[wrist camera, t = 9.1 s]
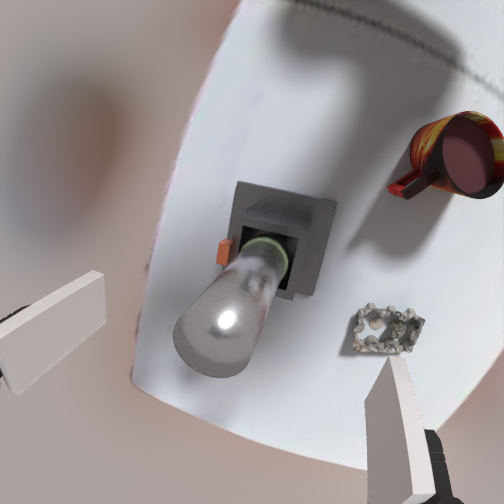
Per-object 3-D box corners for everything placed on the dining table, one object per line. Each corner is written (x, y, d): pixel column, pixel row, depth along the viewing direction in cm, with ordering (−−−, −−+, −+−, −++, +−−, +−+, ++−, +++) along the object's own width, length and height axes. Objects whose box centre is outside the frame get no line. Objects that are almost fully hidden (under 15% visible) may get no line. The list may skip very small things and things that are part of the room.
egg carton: (348, 337, 46) (349, 351, 42) (362, 296, 44) (364, 308, 40) (406, 347, 44) (411, 361, 41) (422, 308, 42) (429, 320, 38)
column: (249, 226, 36) (171, 294, 17) (295, 237, 35) (262, 321, 16) (241, 272, 38) (168, 369, 19) (284, 283, 37) (244, 395, 18)
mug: (383, 189, 39) (406, 198, 28) (426, 109, 34) (460, 93, 23) (434, 225, 38) (469, 247, 27) (475, 149, 33) (518, 148, 22)
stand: (239, 180, 43) (210, 187, 32) (336, 202, 41) (341, 216, 30) (224, 270, 47) (194, 303, 36) (312, 293, 45) (308, 334, 34)
